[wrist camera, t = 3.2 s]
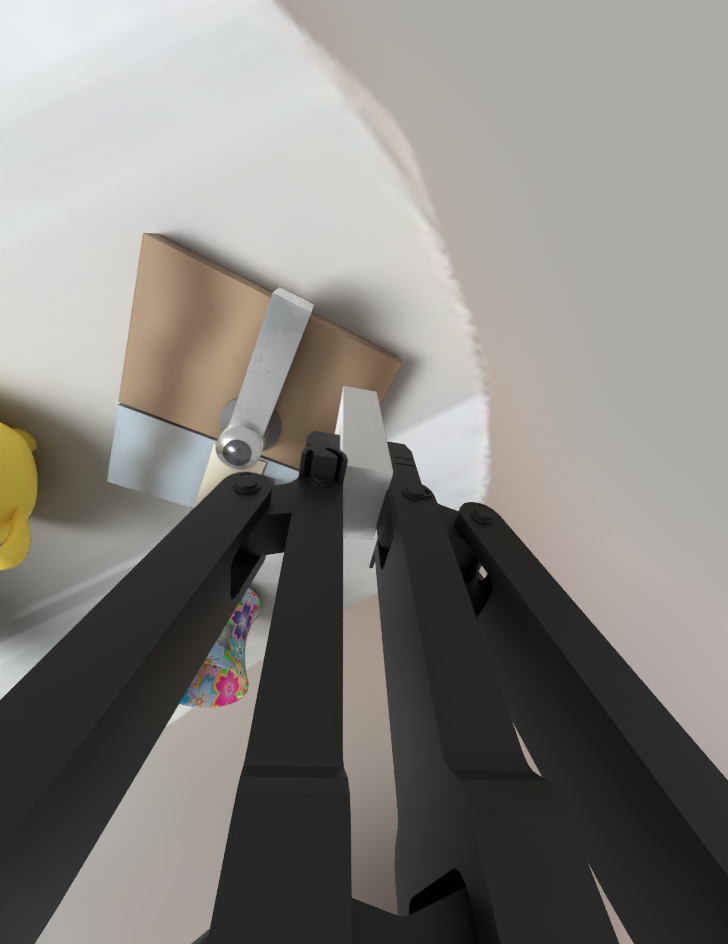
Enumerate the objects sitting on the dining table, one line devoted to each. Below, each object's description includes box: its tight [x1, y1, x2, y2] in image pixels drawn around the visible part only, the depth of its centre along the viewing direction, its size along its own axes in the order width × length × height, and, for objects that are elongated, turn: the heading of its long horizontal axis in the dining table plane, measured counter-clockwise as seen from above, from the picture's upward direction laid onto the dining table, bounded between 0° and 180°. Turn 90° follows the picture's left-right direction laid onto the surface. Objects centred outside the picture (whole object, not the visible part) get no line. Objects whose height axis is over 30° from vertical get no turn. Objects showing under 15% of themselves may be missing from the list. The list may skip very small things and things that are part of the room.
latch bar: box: [215, 287, 314, 470], centre depth 26 cm, size 13×3×4 cm, turn 153°
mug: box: [179, 588, 261, 708], centre depth 41 cm, size 12×9×11 cm
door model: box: [107, 233, 402, 508], centre depth 30 cm, size 19×21×4 cm
